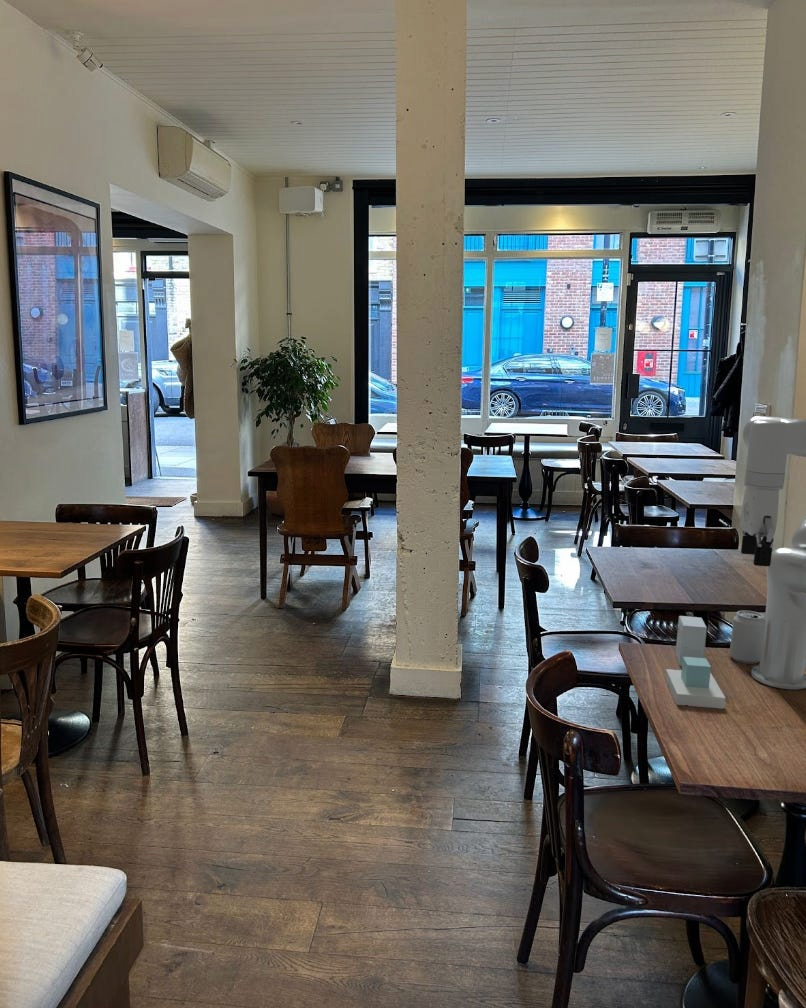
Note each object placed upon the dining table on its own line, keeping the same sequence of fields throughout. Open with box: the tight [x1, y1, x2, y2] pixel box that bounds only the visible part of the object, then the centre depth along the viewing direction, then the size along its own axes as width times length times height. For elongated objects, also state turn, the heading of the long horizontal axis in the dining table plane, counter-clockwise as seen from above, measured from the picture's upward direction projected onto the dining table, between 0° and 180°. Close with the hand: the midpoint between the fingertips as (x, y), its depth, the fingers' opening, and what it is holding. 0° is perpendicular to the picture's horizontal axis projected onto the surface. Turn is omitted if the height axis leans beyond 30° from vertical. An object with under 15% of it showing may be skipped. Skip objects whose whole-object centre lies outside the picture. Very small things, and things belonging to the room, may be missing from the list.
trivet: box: [664, 668, 726, 710], centre depth 182 cm, size 14×10×2 cm
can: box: [729, 610, 765, 665], centre depth 203 cm, size 8×8×12 cm
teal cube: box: [681, 657, 712, 688], centre depth 182 cm, size 5×5×5 cm
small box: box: [675, 615, 708, 667], centre depth 200 cm, size 8×6×10 cm
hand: (755, 559), depth 173 cm, fingers open, 9 cm apart
